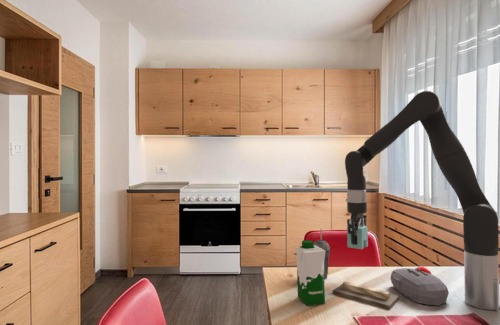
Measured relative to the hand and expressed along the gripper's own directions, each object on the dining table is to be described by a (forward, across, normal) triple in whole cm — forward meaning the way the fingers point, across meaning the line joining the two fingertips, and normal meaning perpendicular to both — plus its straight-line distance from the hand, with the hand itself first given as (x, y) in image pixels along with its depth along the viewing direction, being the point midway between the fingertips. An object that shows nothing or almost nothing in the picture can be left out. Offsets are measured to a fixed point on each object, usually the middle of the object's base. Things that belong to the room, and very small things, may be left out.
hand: (357, 242), depth 129 cm
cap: (+16, +15, -20) cm, 29 cm away
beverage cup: (+15, -6, +13) cm, 21 cm away
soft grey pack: (+16, 0, -22) cm, 27 cm away
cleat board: (+15, -13, -8) cm, 22 cm away
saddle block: (+2, 0, 0) cm, 2 cm away
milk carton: (+15, -28, +5) cm, 32 cm away
